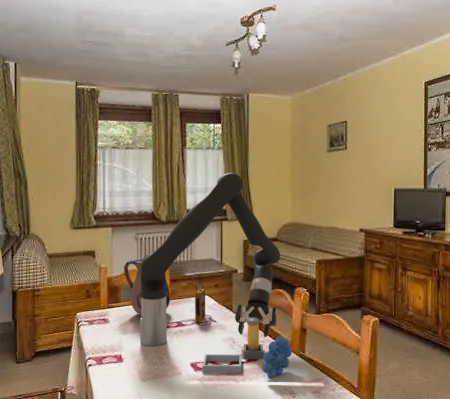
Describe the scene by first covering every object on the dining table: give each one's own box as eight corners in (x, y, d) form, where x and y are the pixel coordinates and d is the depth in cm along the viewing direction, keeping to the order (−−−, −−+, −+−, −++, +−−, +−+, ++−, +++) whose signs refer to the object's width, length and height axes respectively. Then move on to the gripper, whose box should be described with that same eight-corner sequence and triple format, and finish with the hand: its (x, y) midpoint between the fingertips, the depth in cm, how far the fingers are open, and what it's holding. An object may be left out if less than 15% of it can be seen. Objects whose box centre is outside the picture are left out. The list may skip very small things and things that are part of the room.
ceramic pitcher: (167, 320, 186) (166, 263, 185) (119, 320, 186) (117, 263, 185) (172, 308, 203) (171, 256, 202) (128, 309, 203) (127, 257, 203)
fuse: (247, 356, 144) (247, 321, 143) (247, 351, 148) (247, 317, 147) (259, 356, 143) (259, 321, 143) (259, 351, 147) (258, 317, 147)
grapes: (280, 366, 137) (280, 329, 137) (296, 373, 132) (296, 335, 132) (254, 376, 130) (253, 338, 130) (269, 384, 125) (269, 344, 124)
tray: (202, 374, 132) (202, 365, 132) (205, 362, 141) (205, 354, 141) (241, 375, 131) (240, 366, 131) (241, 363, 140) (241, 354, 140)
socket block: (241, 361, 142) (241, 352, 142) (241, 351, 150) (241, 343, 150) (265, 361, 141) (265, 352, 141) (264, 352, 149) (264, 343, 149)
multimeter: (215, 326, 177) (215, 279, 176) (192, 325, 179) (192, 278, 178) (223, 316, 191) (222, 271, 190) (201, 314, 193) (201, 271, 192)
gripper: (239, 286, 155) (230, 327, 144) (278, 288, 150) (271, 331, 140) (243, 297, 160) (235, 337, 149) (280, 299, 156) (275, 341, 145)
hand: (252, 334), depth 145 cm, fingers open, 8 cm apart
